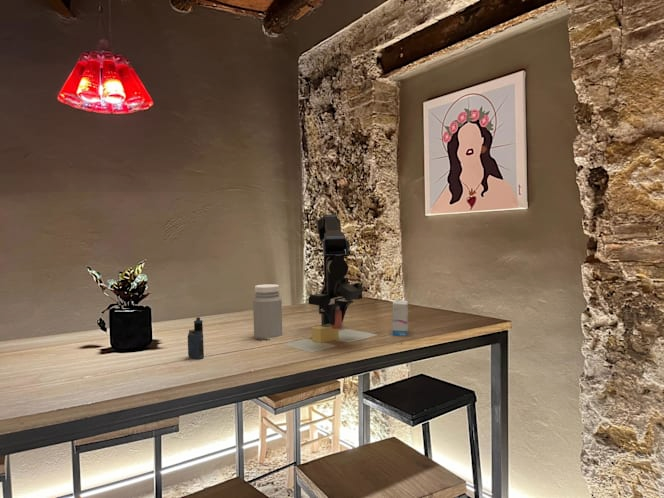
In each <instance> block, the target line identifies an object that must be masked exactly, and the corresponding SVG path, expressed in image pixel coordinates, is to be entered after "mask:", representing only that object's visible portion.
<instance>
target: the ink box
mask: <svg viewBox="0 0 664 498" xmlns="http://www.w3.org/2000/svg"><path fill="white" fill-rule="evenodd" d="M408 332H409V300H401V299H399V300H398V299H395V300H394V301H392V336H393V337H401V336H402V337H407V336H408Z"/></svg>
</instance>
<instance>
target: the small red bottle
mask: <svg viewBox="0 0 664 498" xmlns="http://www.w3.org/2000/svg"><path fill="white" fill-rule="evenodd" d="M332 329H338V330H339V329H340V330H341V329H343V322H342V310H340V306H339V305H337V306H336V308H335V323H334V325H332Z"/></svg>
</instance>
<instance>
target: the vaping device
mask: <svg viewBox="0 0 664 498" xmlns="http://www.w3.org/2000/svg"><path fill="white" fill-rule="evenodd" d="M195 319H196V320H194V321H193V323H194V324H193V325H194V326H193V329H189V330H188V333H187V334H188V335H187V355H188V358H189V359H193V360H202V359H204V357H205V355H204V354H205V352H204V332H203V331H204V328H203V320H202V319H201V317H199V316H198V317H195Z"/></svg>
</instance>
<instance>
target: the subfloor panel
mask: <svg viewBox="0 0 664 498" xmlns="http://www.w3.org/2000/svg"><path fill="white" fill-rule="evenodd" d="M338 333H339V339H336V340H332V341H328V342H324V343H317V342H312V336H311V337H308V338H307V337H306V338H303V339H299V340H294V341H289V342H285V343H282V344H280V346H284V347H288V348H293V349H297V350H299V351H305V352H308V353H315V352H319V351H322V350H326V349H329V348H333V347H337V346H338V347H339V346H341V345H345V344H350V343H353V342H356V341H360V340H364V339H368V338H372V337H376V336H377V333H370V332H365V331H360V330H355V329H349V328H345V329H342V330H341V329H340V330H338Z"/></svg>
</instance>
